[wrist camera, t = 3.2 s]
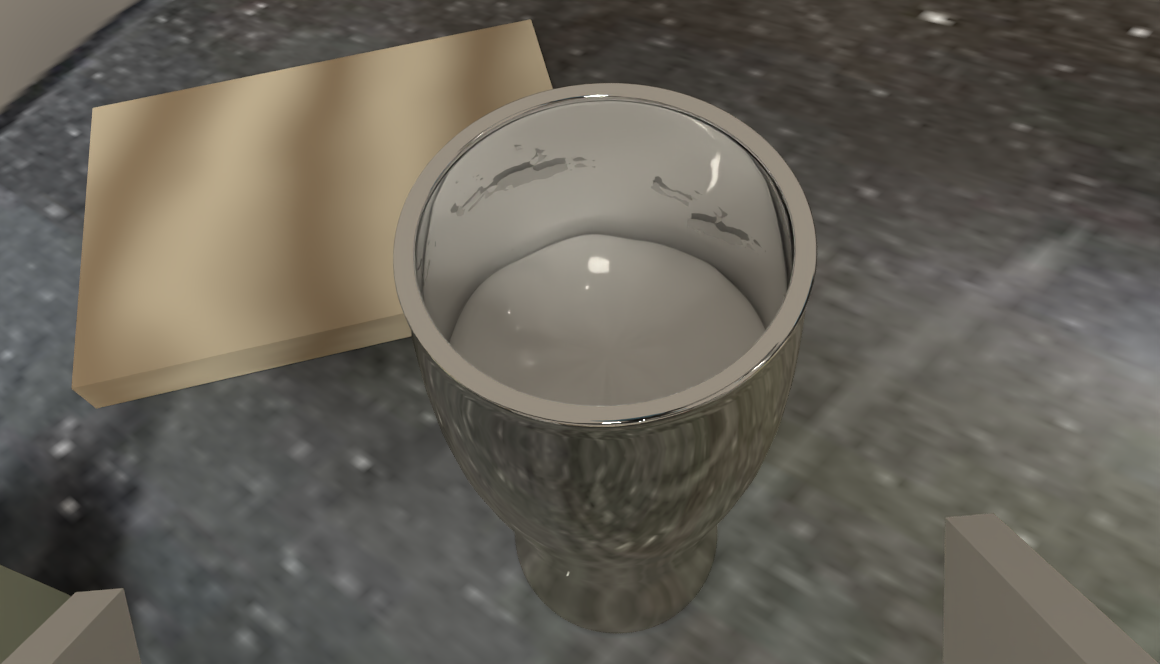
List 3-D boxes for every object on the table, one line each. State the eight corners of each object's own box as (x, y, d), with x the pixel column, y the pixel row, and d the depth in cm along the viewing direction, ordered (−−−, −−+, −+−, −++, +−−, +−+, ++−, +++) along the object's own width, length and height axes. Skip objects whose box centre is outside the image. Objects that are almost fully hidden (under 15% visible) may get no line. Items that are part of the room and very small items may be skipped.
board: (534, 47, 37) (530, 19, 36) (609, 290, 31) (608, 266, 29) (112, 134, 36) (92, 108, 34) (96, 408, 29) (71, 388, 28)
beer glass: (550, 400, 29) (485, 38, 16) (756, 464, 27) (872, 121, 14) (465, 602, 25) (294, 356, 12) (694, 688, 24) (770, 508, 11)
